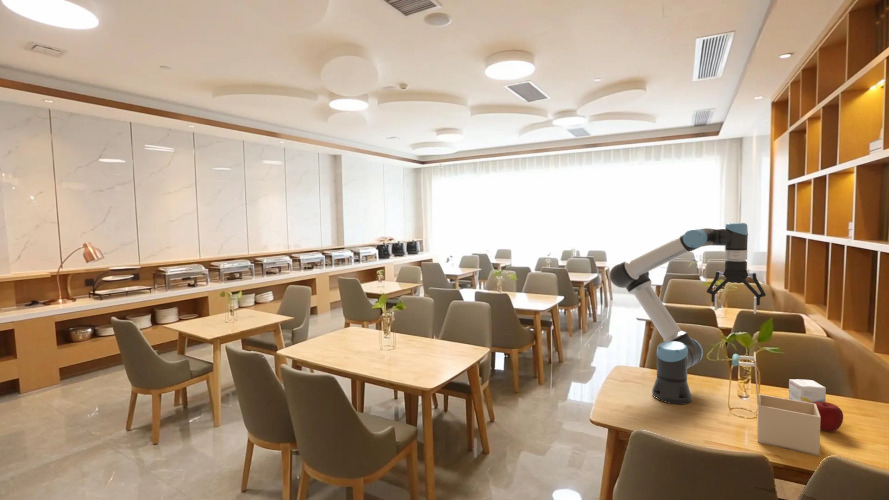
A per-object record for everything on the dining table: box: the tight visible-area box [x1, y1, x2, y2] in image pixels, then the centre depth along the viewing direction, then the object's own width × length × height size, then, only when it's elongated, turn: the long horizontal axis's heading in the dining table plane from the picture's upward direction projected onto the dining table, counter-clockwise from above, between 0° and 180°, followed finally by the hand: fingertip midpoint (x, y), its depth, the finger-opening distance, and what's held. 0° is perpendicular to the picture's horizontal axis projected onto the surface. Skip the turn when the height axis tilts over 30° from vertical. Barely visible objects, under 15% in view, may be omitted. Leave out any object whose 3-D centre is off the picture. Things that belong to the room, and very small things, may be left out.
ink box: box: [788, 378, 827, 403], centre depth 169 cm, size 9×8×12 cm
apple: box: [812, 401, 844, 432], centre depth 154 cm, size 10×10×10 cm
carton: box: [756, 393, 821, 457], centre depth 147 cm, size 16×12×13 cm
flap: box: [731, 351, 759, 406], centre depth 153 cm, size 15×12×7 cm
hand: (734, 311), depth 176 cm, fingers open, 13 cm apart
